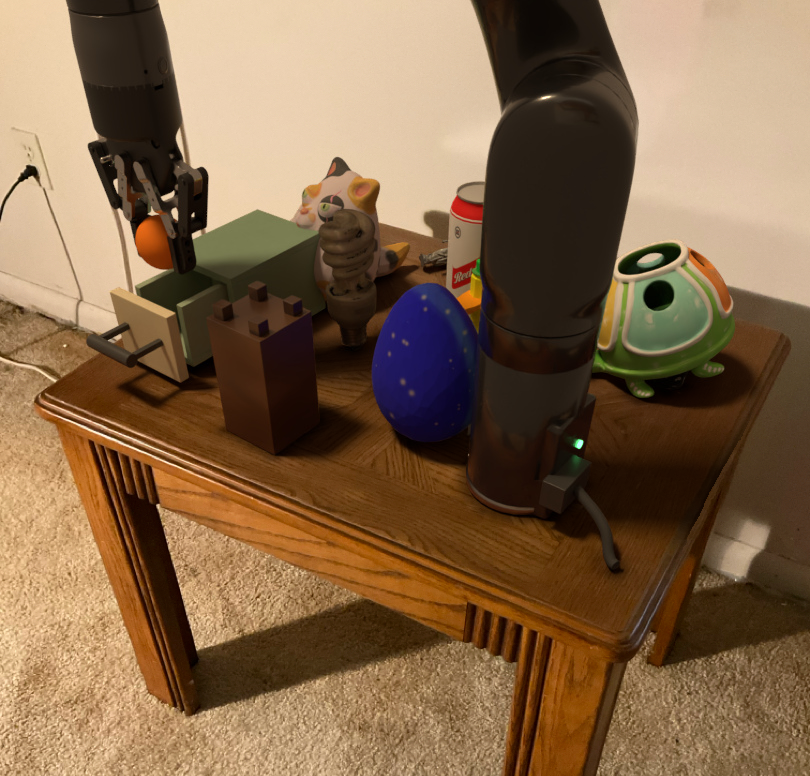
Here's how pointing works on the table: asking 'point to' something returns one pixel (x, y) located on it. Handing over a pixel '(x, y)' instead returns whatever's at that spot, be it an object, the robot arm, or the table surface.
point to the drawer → (163, 322)
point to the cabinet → (262, 258)
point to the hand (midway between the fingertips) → (167, 262)
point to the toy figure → (473, 296)
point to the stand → (265, 367)
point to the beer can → (464, 236)
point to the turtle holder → (664, 317)
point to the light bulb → (350, 273)
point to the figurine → (346, 193)
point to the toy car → (670, 381)
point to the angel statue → (435, 257)
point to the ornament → (426, 365)
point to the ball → (154, 243)
